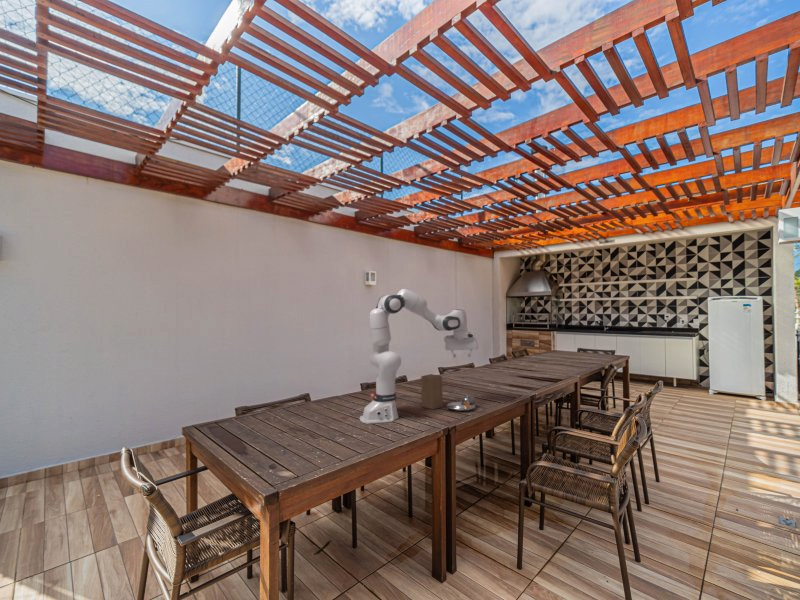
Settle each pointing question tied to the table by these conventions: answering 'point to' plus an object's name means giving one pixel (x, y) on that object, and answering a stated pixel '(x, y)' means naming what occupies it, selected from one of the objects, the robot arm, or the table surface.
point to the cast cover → (467, 399)
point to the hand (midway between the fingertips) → (462, 356)
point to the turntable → (460, 406)
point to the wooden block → (431, 391)
